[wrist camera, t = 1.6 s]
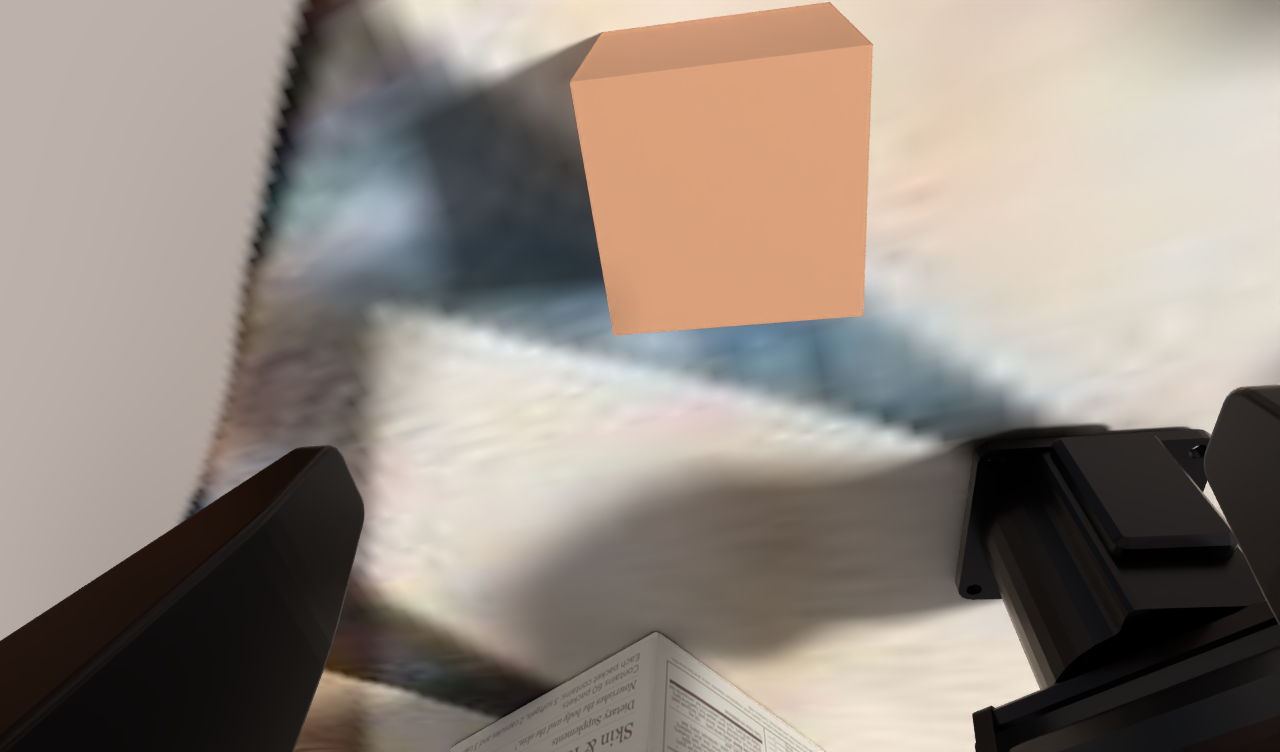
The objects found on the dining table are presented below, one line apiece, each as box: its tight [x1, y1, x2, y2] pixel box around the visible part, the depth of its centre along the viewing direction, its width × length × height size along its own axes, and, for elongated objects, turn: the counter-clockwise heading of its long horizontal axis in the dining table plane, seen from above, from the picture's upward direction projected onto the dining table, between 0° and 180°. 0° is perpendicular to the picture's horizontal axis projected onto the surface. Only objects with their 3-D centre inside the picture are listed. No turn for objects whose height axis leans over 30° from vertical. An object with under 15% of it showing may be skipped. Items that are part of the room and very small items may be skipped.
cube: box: [570, 2, 873, 335], centre depth 16 cm, size 5×5×5 cm
